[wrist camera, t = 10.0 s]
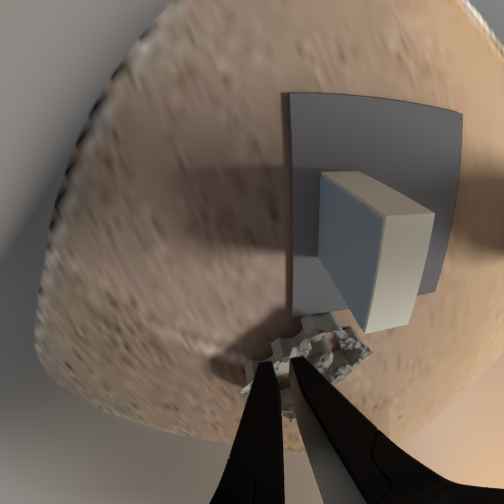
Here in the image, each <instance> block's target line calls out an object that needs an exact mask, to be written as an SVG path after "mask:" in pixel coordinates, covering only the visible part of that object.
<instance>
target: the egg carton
mask: <svg viewBox="0 0 504 504" xmlns="http://www.w3.org/2000/svg"><path fill="white" fill-rule="evenodd" d="M300 321H301V324H302V326H303V329H302V331H301V332H300V333H299V334H298V335H296V336H295V337H292V338H281V337H278V338H277V339H276V340H274V341H273V342H272V343H271V347H272V351H273V354H272V356H271V357H270V358H268V359H266V360H262V361H255V360H252V359H251V360H250V361H248V362H247V363H246V364H245V365H244V367H245V372H246V382H247V386H246V387H245V388H243V389H242V390H241V391H239V392H240V393H242V394H243V395H245V396H246V397H247V398H248V395H249V392H250V388H251V385H252V382H253V378H254V375H255V371H256V368H257V365H258V363H259V362H263V361H272V362H273V366H274V370H275V374H277V375H279V373H281V374H288V373H289V360H290V358H292V357H298V356H303V357H305V358H306V359H307V360H308V361H309V362H310V363H311V364H312V365H313V366H314V367H315V368H316V369H317V370H318V371H319V372H320V373H321V374H322V375H323V376H324V377H325V378H326V379H327V380H328V381H329V382H330V383H331V384H332V385H333V386H334V385H335V384H336V383H337V382H339V381H341V380H343V379H345V378H346V376H347V375H348V374H349V373H350V372H351V371H352V370H353V369H354V367H355V366H356V365H357V364H358V363H359V362H360V361H361V360H363V359H364V358H366V357H368V356H369V355H370V354H371V353H372V352H371V351H370V350H369V348H368V346H366V345H364V344H363V343H362V341H361V339H360V337H359V336H358V334H357V332H356V330H355V329H354V328H353V327H351V326H350V327H348V328H347V329H344V330H342V327H341V325H340V323H339V321H338V320H337V317H336V315H335V313H333V312H325V313H319V314H312V315H305V316H303V317H302V318H301V319H300ZM330 331H332V332H333V333H334V334H335V336H336V339H337V341H338V343H339V345H340V347H341V349H339V350H334V351H331V348H330V346H329V344H328V341H327V340H326V338H325V337H324V336H323V334H324V333H325V332H330ZM342 349H343V350H342ZM282 358H284V359H283V360H281V359H282ZM280 395H281V410H282V415H283V416H285V417H287V418H289V419H291V420H290V422H292V421H294V420H295V419H296V415H295V409H294V404H293V398H292V393H291V388H284V389H281V390H280Z"/></svg>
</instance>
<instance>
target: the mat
mask: <svg viewBox="0 0 504 504" xmlns="http://www.w3.org/2000/svg"><path fill="white" fill-rule="evenodd" d="M288 97H289V118H290V143H291V180H292V303H291V315H292V317H298V316H305V315H312V314H319V313H325V312H332V311H338V310H344V309H349V307H348V305H347V304H346V302H345V300H344V298H343V297H342V295H341V293H340V292H339V290H338V289H337V287H336V285H335V284H334V282H333V280H332V279H331V277H330V275H329V274H328V272H327V271H326V269H325V267H324V266H323V264H322V263H321V261H320V259H319V258H318V238H319V211H320V176H321V172H330V171H359V172H361V173H363V174H365V175H367V176H369V177H371V178H373V179H375V180H377V181H379V182H381V183H383V184H385V185H387V186H388V187H390V188H392V189H394V190H396V191H398V192H399V193H401V194H403V195H405V196H407V197H408V198H410V199H412V200H414V201H415V202H417V203H419V204H420V205H422V206H424V207H425V208H427V209H429V210H430V211H432V212H434V213H435V216H434V222H433V228H432V233H431V239H430V244H429V248H428V253H427V257H426V262H425V266H424V270H423V274H422V278H421V282H420V286H419V290H418V293H417V295H422V294H426V293H431V292H435V290H436V287H437V284H438V280H439V276H440V273H441V269H442V265H443V261H444V257H445V253H446V249H447V244H448V240H449V235H450V230H451V225H452V220H453V214H454V208H455V202H456V195H457V188H458V180H459V171H460V161H461V148H462V128H463V114H462V113H457V112H453V111H449V110H445V109H440V108H435V107H430V106H425V105H420V104H414V103H408V102H402V101H395V100H388V99H380V98H372V97H362V96H351V95H337V94H316V93H288Z"/></svg>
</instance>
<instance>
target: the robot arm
mask: <svg viewBox="0 0 504 504" xmlns="http://www.w3.org/2000/svg"><path fill="white" fill-rule="evenodd" d="M289 382H290V387H291V393H292V398H293V404H294V409H295V415H296V420H297V424H298V427H299V431H300V434H301V437H302V440H303V443H304V446H305V449H306V452H307V455H308V458H309V461H310V464H311V467H312V470H313V473H314V475H315V478H316V482H317V485H318V487H319V490H320V493H321V496H322V499H323V502H324V504H504V489H499V488H488V487H478V486H470V485H463V484H459V483H455V482H452V481H449V480H447V479H445V478H443V477H442V476H440V475H439V474H436V473H435V472H434V471H432V470H431V469H429V468H428V467H426V466H424V465H423V464H422V463H420V462H419V461H417V460H416V459H414V458H413V457H411V456H410V455H409V454H407V453H406V452H405V451H403V450H402V449H400V448H399V447H398V446H397V445H396V444H395V443H393V442H392V441H391V440H390V439H389V438H388V437H387V436H385V435H384V434H383V433H382V432H381V431H380V430H377V427H376V426H375V425H374V424H373V423H372V422H370V421H369V420H368V419H367V418H366V417H365V416H364V415H363V414H362V413H361V412H360V411H359V410H358V409H357V408H356V407H355V406H354V405H353V404H352V403H351V402H350V401H349V400H347V399H346V398H345V397H344V396H343V395H342V394H341V393H340V392H339V391H338V390H337V389H336V388H335V387H334V386H333V385H332V384H331V383H330V382H329V381H328V380H327V379H326V378H325V377H324V376H323V375H322V374H321V373H320V372H319V371H318V370H317V369H316V368H315V367H314V366H313V365H312V364H311V363H310V362H309V361H308V360H307V359H306V358H305V357H303V356H298V357H292V358H290V360H289ZM209 504H285V494H284V461H283V433H282V410H281V395H280V390H279V386H278V382H277V378H276V374H275V370H274V366H273V362H272V361H263V362H259V363H258V365H257V368H256V371H255V375H254V378H253V382H252V385H251V388H250V392H249V395H248V398H247V401H246V405H245V408H244V411H243V414H242V418H241V421H240V424H239V427H238V430H237V433H236V437H235V440H234V443H233V446H232V449H231V452H230V455H229V459H228V461H227V464H226V467H225V469H224V472H223V475H222V478H221V480H220V483H219V485H218V487H217V489H216V491H215V493H214V496H213V497H212V499H211V501H210V503H209Z"/></svg>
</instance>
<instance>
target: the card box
mask: <svg viewBox="0 0 504 504" xmlns="http://www.w3.org/2000/svg"><path fill="white" fill-rule="evenodd" d="M434 216H435V213H434V212H432V211H430V210H429V209H427V208H425V207H424V206H422V205H420V204H419V203H417V202H415V201H414V200H412V199H410V198H408V197H407V196H405V195H403V194H401V193H399V192H398V191H396V190H394V189H392V188H390V187H388V186H387V185H385V184H383V183H381V182H379V181H377V180H375V179H373V178H371V177H369V176H367V175H365V174H363V173H361V172H359V171H330V172H321V176H320V211H319V238H318V258H319V259H320V261H321V263H322V264H323V266H324V267H325V269H326V271H327V272H328V274H329V275H330V277H331V279H332V280H333V282H334V284H335V285H336V287H337V289H338V290H339V292H340V293H341V295H342V297H343V298H344V300H345V302H346V304H347V305H348V307H349V309H350V310H351V312H352V314H353V315H354V317H355V319H356V321H357V322H358V324H359V326H360V327H361V329H362V330H363V332H364V333H365V334H367V333H372V332H377V331H381V330H386V329H390V328H394V327H398V326H403V325H407V324H408V323H409V320H410V317H411V313H412V310H413V307H414V304H415V300H416V297H417V293H418V290H419V286H420V282H421V278H422V274H423V270H424V266H425V262H426V257H427V253H428V248H429V244H430V239H431V233H432V228H433V222H434Z"/></svg>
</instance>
